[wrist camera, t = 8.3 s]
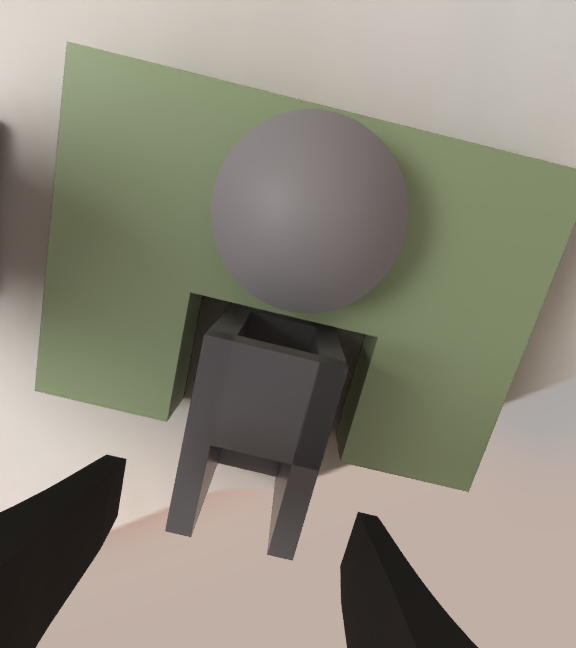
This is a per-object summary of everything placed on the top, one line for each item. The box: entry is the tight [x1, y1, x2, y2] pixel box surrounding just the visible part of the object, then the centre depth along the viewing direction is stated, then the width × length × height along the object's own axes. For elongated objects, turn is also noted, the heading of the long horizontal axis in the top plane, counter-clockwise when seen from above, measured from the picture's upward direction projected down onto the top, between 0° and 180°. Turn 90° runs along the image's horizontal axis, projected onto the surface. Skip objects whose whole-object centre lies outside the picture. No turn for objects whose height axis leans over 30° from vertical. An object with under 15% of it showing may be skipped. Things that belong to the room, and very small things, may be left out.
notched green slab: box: [35, 42, 576, 492], centre depth 17 cm, size 20×14×4 cm
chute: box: [166, 303, 349, 560], centre depth 17 cm, size 5×8×6 cm, turn 167°
